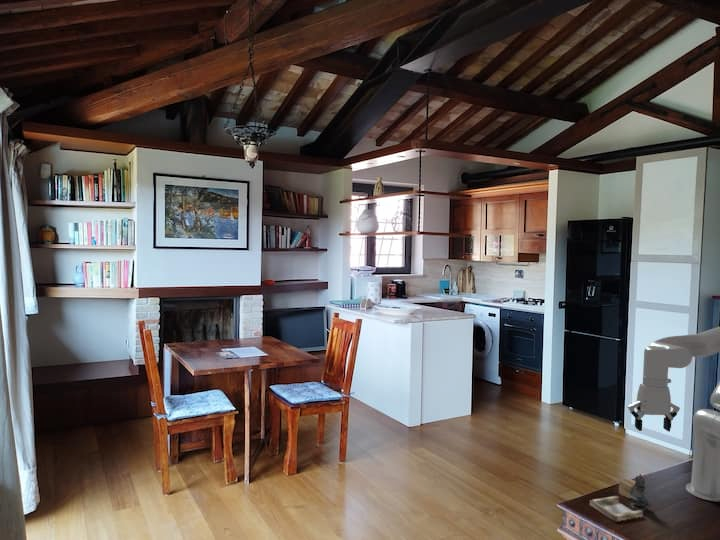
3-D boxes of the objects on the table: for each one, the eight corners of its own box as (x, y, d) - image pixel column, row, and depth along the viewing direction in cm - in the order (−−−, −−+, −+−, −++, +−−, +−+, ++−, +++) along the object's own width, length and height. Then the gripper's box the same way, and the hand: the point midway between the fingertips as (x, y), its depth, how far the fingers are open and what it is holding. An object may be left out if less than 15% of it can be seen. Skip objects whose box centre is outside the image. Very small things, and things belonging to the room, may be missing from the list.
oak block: (629, 491, 196) (630, 478, 195) (640, 498, 191) (641, 484, 191) (618, 493, 194) (619, 480, 194) (629, 499, 189) (630, 486, 189)
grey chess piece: (649, 512, 181) (652, 478, 180) (631, 510, 182) (633, 476, 181) (644, 504, 187) (646, 471, 186) (626, 501, 188) (628, 469, 187)
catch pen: (616, 500, 188) (616, 495, 188) (642, 516, 178) (643, 511, 177) (589, 504, 184) (589, 500, 184) (614, 521, 174) (615, 516, 173)
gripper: (674, 379, 187) (671, 426, 188) (624, 378, 187) (622, 425, 188) (686, 385, 179) (683, 434, 180) (635, 384, 180) (632, 433, 181)
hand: (652, 429), depth 184 cm, fingers open, 9 cm apart
